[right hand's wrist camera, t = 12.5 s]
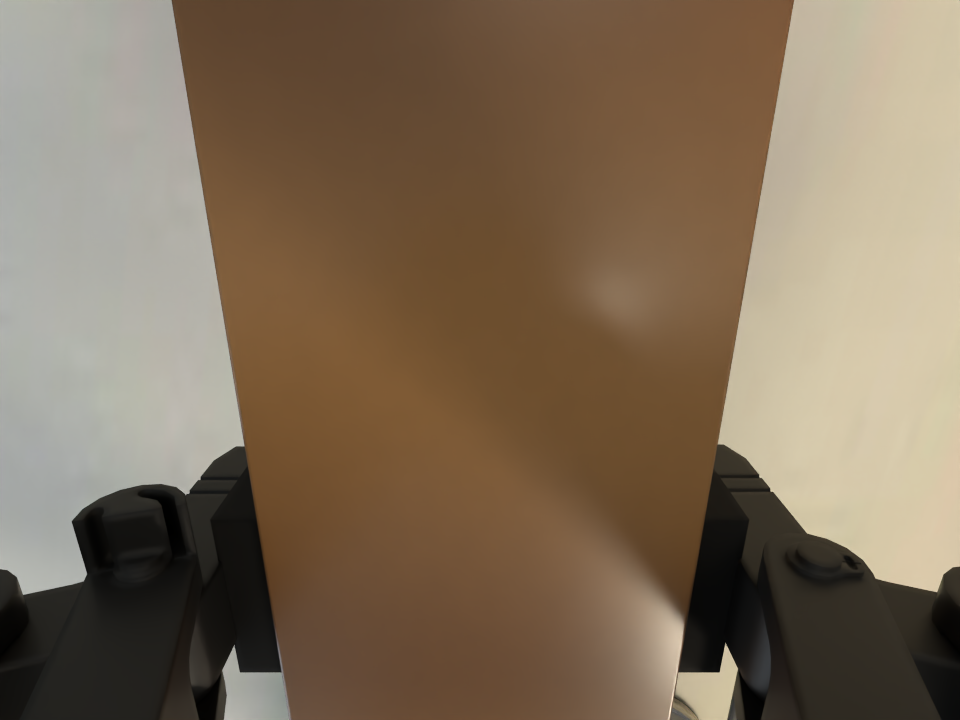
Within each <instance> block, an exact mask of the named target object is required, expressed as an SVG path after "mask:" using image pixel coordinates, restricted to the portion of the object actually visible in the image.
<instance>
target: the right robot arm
mask: <svg viewBox="0 0 960 720" xmlns="http://www.w3.org/2000/svg"><path fill="white" fill-rule="evenodd" d="M72 524H73V527H74V531H75V534H76V537H77V541H78V544H79V547H80V551H81V554H82V558H83V561H84V564H85V568H86V571H87V576H86V578H85V580H84V582H80V583H77V584H73V585H68V586H64V587H59V588H54V589H50V590H45V591H40V592H35V593H31V594H26V595H23V594H22V591H21V588H20V585H19V582H18V580H17V577H16V576H14V575H13V574H12V573H10V572H9V571H8V570H1V569H0V720H224V713H225V705H226V696H227V695H226V688H225V681H224V676H223V672H222V669H223V667H224V665H225V663H226V661H227V659H228V657H229V655H230V653H231V651H232V648H233V646H234V644H235V649H236V654H237V659H238V665H239V670H240V672H282V671H281V665H280V659H279V653H278V647H277V641H276V635H275V628H274V622H273V616H272V610H271V604H270V598H269V592H268V586H267V580H266V573H265V567H264V561H263V555H262V549H261V543H260V537H259V531H258V525H257V518H256V512H255V506H254V500H253V494H252V488H251V482H250V476H249V470H248V463H247V457H246V451H245V447H235V448H233V449H232V450H230V451H228V452H227V453H225V454H224V455H222V456H220V457H219V458H217V459H216V460H214V461H213V462H212V464H211V465H210V466H209V467H208V469H207V470H206V471H205V472H204V474H203V475H202V476H201V480H198V481H197V482H196V483H195V485H194V486H193V487H192V488H191V490H190V494H187V495H186V496H185V494H184V493H183V492H182V491H180V490H179V489H178V488H177V487H172V486H168V485H163V484H155V485H140V486H136V487H132V488H127V489H123V490H119V491H117V492H114V493H112V494H109V495H107V496H104V497H102V498H100V499H98V500H97V501H95V502H93V503H92V504H90V505H89V506H87V507H85V508H84V509H82V511H81V512H80V513H79V514H78V515H77V516H76V517H75V518H74V519H73V521H72ZM725 642H726V644H727V646H728V649H729V651H730V653H731V655H732V657H733V659H734V661H735V663H736V665H737V667H738V672H737V676H736V681H735V686H734V691H733V695H732V700H731V705H730V710H729V714H728V719H727V720H960V567H953V568H952V569H950V570H949V571H948V572H946V573H945V574H944V575H943V578H942V581H941V583H940V586H939V589H938V592H933V591H928V590H923V589H918V588H913V587H909V586H904V585H899V584H894V583H890V582H885V581H882V580H878V579H875V577H874V575H873V573H872V572H871V570H870V569H869V568H868V566H867V565H866V564H865V562H864V561H863V560H862V559H861V558H859V557H858V556H857V555H855V554H854V553H852V552H851V551H850V550H848V549H847V548H845V547H843V546H841V545H839V544H837V543H834V542H832V541H830V540H828V539H825V538H821V537H817V536H814V535H810V534H807V533H806V532H805V531H804V529H803V528H802V527H801V526H800V524H799V523H798V522H797V521H796V520H795V518H794V517H793V516H792V515H791V513H790V512H789V511H788V510H787V509H786V507H785V506H784V505H783V504H782V502H781V501H780V500H779V499H778V497H777V496H776V495H775V494H774V493H773V492H770V488H769V486H768V485H767V484H766V483H765V482H764V480H763V479H762V478H759V474H758V473H757V472H756V470H755V469H754V468H753V467H752V466H751V464H750V463H749V462H748V461H747V459H746V458H744V457H742V456H741V455H739V454H738V453H736V452H735V451H733V450H731V449H730V448H728V447H727V446H725V445H717V450H716V456H715V462H714V468H713V474H712V479H711V485H710V491H709V497H708V503H707V508H706V514H705V520H704V526H703V532H702V538H701V543H700V549H699V555H698V561H697V567H696V572H695V578H694V584H693V590H692V596H691V601H690V607H689V613H688V619H687V625H686V631H685V636H684V642H683V648H682V654H681V660H680V665H679V671H678V672H720V667H721V662H722V657H723V652H724V647H725ZM670 720H698V718H697V717H696V715H695V714H694V713H693V712H692V711H691V710H690V709H689V708H688V707H687V706H686V705H685V704H683V703H682V702H680V701H679V700H677V699H676V698H674V700H673V706H672V712H671V718H670Z"/></svg>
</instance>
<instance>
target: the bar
mask: <svg viewBox="0 0 960 720" xmlns="http://www.w3.org/2000/svg"><path fill="white" fill-rule="evenodd" d="M793 3H794V0H172V5H173V11H174V17H175V23H176V29H177V36H178V42H179V48H180V54H181V60H182V66H183V72H184V78H185V84H186V91H187V97H188V103H189V109H190V115H191V121H192V127H193V133H194V140H195V146H196V152H197V158H198V164H199V170H200V176H201V182H202V188H203V195H204V201H205V207H206V213H207V219H208V225H209V231H210V237H211V243H212V250H213V256H214V262H215V268H216V274H217V280H218V286H219V292H220V298H221V305H222V311H223V317H224V323H225V329H226V335H227V341H228V347H229V353H230V360H231V366H232V372H233V378H234V384H235V390H236V396H237V402H238V408H239V415H240V421H241V427H242V433H243V439H244V445H245V451H246V457H247V463H248V470H249V476H250V482H251V488H252V494H253V500H254V506H255V512H256V518H257V525H258V531H259V537H260V543H261V549H262V555H263V561H264V567H265V573H266V580H267V586H268V592H269V598H270V604H271V610H272V616H273V622H274V628H275V635H276V641H277V647H278V653H279V659H280V665H281V671H282V677H283V683H284V690H285V696H286V702H287V708H288V714H289V720H670V718H671V712H672V706H673V700H674V694H675V689H676V683H677V677H678V671H679V665H680V660H681V654H682V648H683V642H684V636H685V631H686V625H687V619H688V613H689V607H690V601H691V596H692V590H693V584H694V578H695V572H696V567H697V561H698V555H699V549H700V543H701V538H702V532H703V526H704V520H705V514H706V508H707V503H708V497H709V491H710V485H711V479H712V474H713V468H714V462H715V456H716V450H717V445H718V439H719V433H720V427H721V421H722V415H723V410H724V404H725V398H726V392H727V386H728V381H729V375H730V369H731V363H732V357H733V352H734V346H735V340H736V334H737V328H738V322H739V317H740V311H741V305H742V299H743V293H744V288H745V282H746V276H747V270H748V264H749V259H750V253H751V247H752V241H753V235H754V229H755V224H756V218H757V212H758V206H759V200H760V195H761V189H762V183H763V177H764V171H765V165H766V160H767V154H768V148H769V142H770V136H771V131H772V125H773V119H774V113H775V107H776V102H777V96H778V90H779V84H780V78H781V72H782V67H783V61H784V55H785V49H786V43H787V38H788V32H789V26H790V20H791V14H792V9H793Z"/></svg>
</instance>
